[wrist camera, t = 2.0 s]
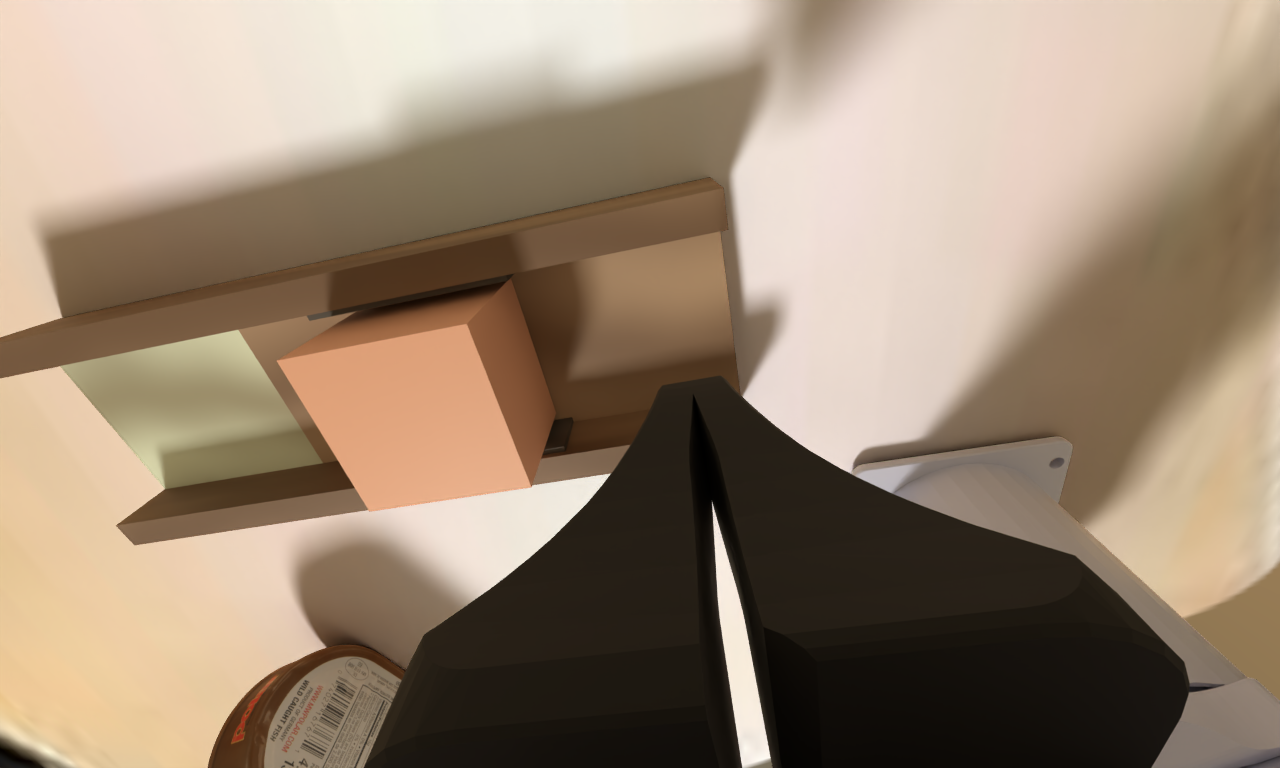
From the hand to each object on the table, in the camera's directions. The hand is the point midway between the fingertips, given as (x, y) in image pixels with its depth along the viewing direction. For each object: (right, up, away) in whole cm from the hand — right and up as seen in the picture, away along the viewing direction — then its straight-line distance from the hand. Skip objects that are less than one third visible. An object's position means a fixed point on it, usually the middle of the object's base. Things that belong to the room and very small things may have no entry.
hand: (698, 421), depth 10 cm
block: (-7, +1, +6) cm, 10 cm away
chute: (-10, +2, +7) cm, 12 cm away
